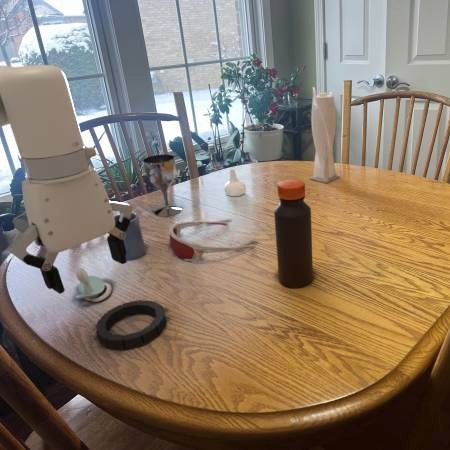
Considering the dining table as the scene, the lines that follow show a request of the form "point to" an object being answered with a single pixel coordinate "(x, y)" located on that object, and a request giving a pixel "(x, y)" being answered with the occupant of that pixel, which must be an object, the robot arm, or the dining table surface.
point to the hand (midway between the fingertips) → (90, 274)
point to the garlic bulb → (234, 185)
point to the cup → (133, 239)
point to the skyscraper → (323, 136)
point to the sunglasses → (190, 249)
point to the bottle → (293, 235)
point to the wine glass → (162, 179)
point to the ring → (131, 339)
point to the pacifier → (91, 287)
